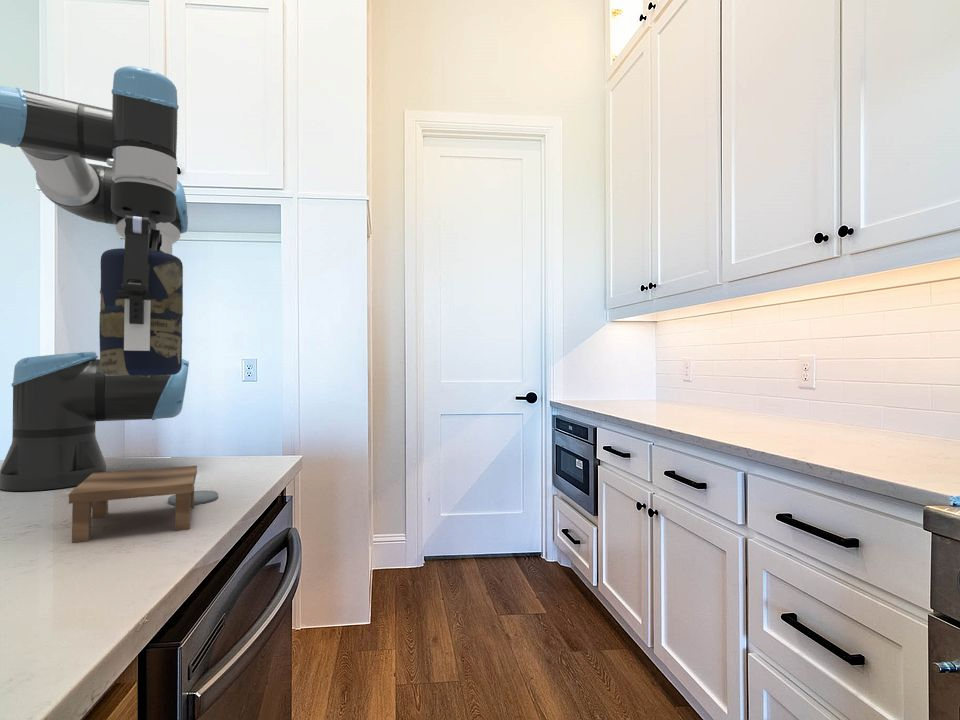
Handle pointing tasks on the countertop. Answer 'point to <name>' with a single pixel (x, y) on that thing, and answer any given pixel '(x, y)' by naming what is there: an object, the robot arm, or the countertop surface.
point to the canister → (162, 317)
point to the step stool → (130, 494)
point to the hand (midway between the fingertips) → (142, 351)
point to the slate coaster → (198, 497)
